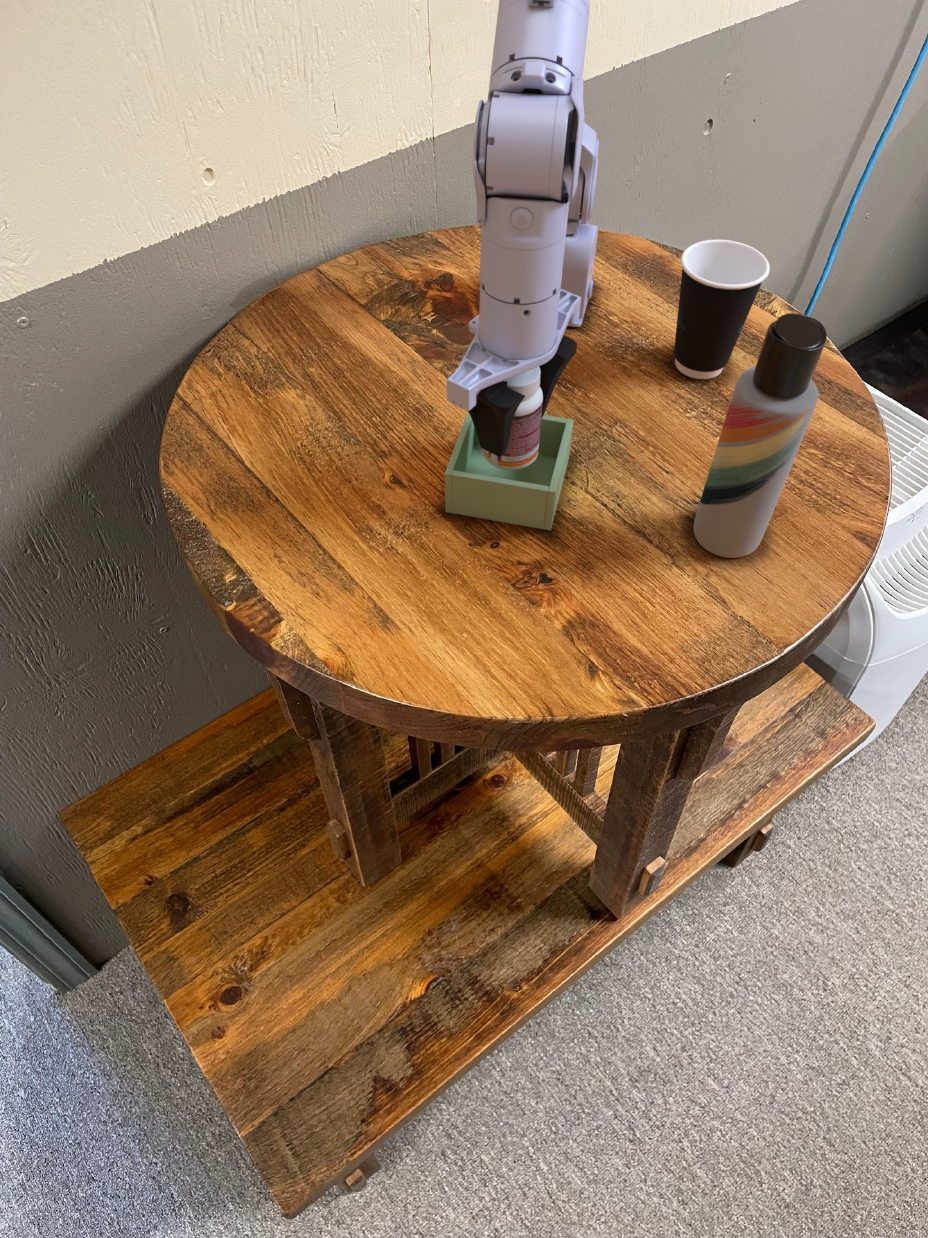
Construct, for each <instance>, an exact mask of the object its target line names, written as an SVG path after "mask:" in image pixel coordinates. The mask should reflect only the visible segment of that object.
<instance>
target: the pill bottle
mask: <svg viewBox="0 0 928 1238" xmlns="http://www.w3.org/2000/svg"><path fill="white" fill-rule="evenodd" d="M505 381H507V382H508V383H507V387H508V388H510V389H512V390H514V391H516V392H518V393H520V394H523V395H525V397H524V399H523V400H522V402H521V403H520V405H519V407H518V408H517V410H516V413H515V415H514V418H513V421H512V425H511V430H510V436H509V442H508V446H507V449H506V451H505V453H504V454H503V455H502V456H501V457H498V456H496V455H494V454H492V453H490V452H488V451H486V450H484V449H483V455H484V457H485V459H486V460H487V461H488V462H489V463H490V464H491V465H493V466H495V467H497V468H499V469H503V470H518V469H522V468H525V467H527V466H529V465H530V464H532V463H533V462H534V461H535V459H536V458H537V455H538V449H539V437H540V425H541V414H542V406H543V405H542V403H543V393H542V390H541V387H540V368H539V366H538V367H536V368H533V369H531V370H528V371H526V372H523V373H521V374H518V375H516V376H513V377H511V378H508V379H506V380H504V382H505Z"/></svg>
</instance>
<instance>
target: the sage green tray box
mask: <svg viewBox="0 0 928 1238" xmlns="http://www.w3.org/2000/svg"><path fill="white" fill-rule="evenodd" d="M574 422H575V421H574V419H571V418H563V417H559V416H552V415H545V414H544V415H543V417H542V419H541V425H540V437H539V449H538V455H537V458H536V459H535V461H534V462H533V463H532V464H530V465H529V466H527V467H525V468H522V469H518V470H503V469H499V468H497V467H495V466H493V465H491V464H490V463H489V462H488V461H487V460H486V459H485V457H484V455H483V449H482V448H481V446H480V443H479V440H478V436H477V433H476V430H475V427H474V424H473V421H472V419H471V416H470V414H469V412H468V411H467V412H466V414H465V417H464V420H463V422H462V426H461V428H460V430H459V433H458V436H457V439H456V441H455V444H454V447H453V450H452V452H451V455H450V458H449V459H448V460H449V461H448V463H447V466H446V468H445V472H444V507H445V508H444V509H445V511H444V512H445V513H449V514H454V515H459V516H460V515H461V516H466V517H470V518H477V519H483V520H488V521H495V522H498V523H499V522H500V523H506V524H510V525H511V524H512V525H516V526H522V527H528V528H534V529H540V530H544V531H545V530H546V531H552V527H553V525H554V519H555V515H556V511H557V508H558V504H559V501H560V497H561V492H562V489H563V484H564V479H565V475H566V473H567V467H568V464H569V459H570V453H571V445H572V436H573V428H574Z"/></svg>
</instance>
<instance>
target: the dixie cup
mask: <svg viewBox="0 0 928 1238" xmlns="http://www.w3.org/2000/svg"><path fill="white" fill-rule="evenodd" d="M680 265H681V278H680V289H679V298H678V309H677V315H676V316H677V317H676V328H675V338H674V346H673V357H674V365H675V367H676V369H677V370H678V371H679V372H680V373H681V374H683V375H685V376H686V377H689V378H693V379H698V380H707V379H708V380H709V379H714V378H716V377H717V376H719V375H720V374H721V373H722V371H723V370H724V368H725V367H726V366H727V365H728V363H729V361H730V358H731V356H732V355H733V352H734V349H735V347H736V344H737V342H738V340H739V337H740V335H741V333H742V330H743V328H744V326H745V323H746V321H747V319H748V316H749V314H750V312H751V310H752V307H753V304H754V302H755V300H756V297H757V295H758V292H759V291H760V288H761V286H762V283H763V282H764V281H765V280H766V279H767V278H768V276H769V274H770V268H771V267H770V262H769V261H768V259H767V258H766V256H765V255H764V254H763V253H762V252H761V251H759V250H758V249H756V248H755V247H752V246H750V245H748V244H746V243H743V242H739V241H735V240H730V239H706V240H702V241H701V240H700V241H698V242H695V243H693V244H691V245H689V246H687V248H685V250H683V252H682V253H681V255H680Z"/></svg>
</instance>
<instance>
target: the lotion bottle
mask: <svg viewBox="0 0 928 1238" xmlns="http://www.w3.org/2000/svg"><path fill="white" fill-rule="evenodd" d="M826 330H827V329H826V328H825V326H824V325H823V324H822V322H820V321H819V320H818V319H816V318H814V317H811V316H807V315H803V314H800V313H795V312H794V313H784V314H781V315H780V316H779V317H778V318H777V319H776V320H774V321H773V322H772V323H770V324H769V326H768V327H767V330H766V333H765V335H764V339H763V342H762V344H761V348H760V351H759V354H758V358H757V362H756V364H755V365H753V366H750V367H749V368H746V369H745V370H744V371H743V372H741V373H740V375H739V377H738V378H737V380H736V383H735V386H734V389H733V392H732V395H731V399H730V401H729V405H728V408H727V412H726V415H725V418H724V422H723V425H722V427H721V431H720V435H719V438H718V441H717V444H716V448H715V450H714V455H713V458H712V461H711V464H710V467H709V471H708V474H707V477H706V480H705V483H704V486H703V489H702V494H701V496H700V500H699V504H698V506H697V510H696V514H695V517H694V522H693V535H694V537H695V539H696V541H697V543H698V544H699V545H700V546H701V547H702V548H703V549H705V550H706V551H707V552H709V553H711V554H713V555H715V556H719V557H722V558H729V559H737V558H743V557H746V556H748V555H750V554H752V553H753V552H755V551H756V550H757V548H758V547H759V546H760V544H761V542H762V540H763V539H764V536H765V534H766V531H767V529H768V526H769V524H770V521H771V519H772V517H773V513H774V511H775V508H776V507H777V504H778V501H779V499H780V496H781V494H782V491H783V490H784V486H785V484H786V482H787V480H788V477H789V474H790V472H791V469H792V467H793V464H794V462H795V459H796V457H797V454H798V452H799V449H800V448H801V444H802V442H803V441H804V437H805V434H806V432H807V429H808V427H809V425H810V422H811V419H812V417H813V414H814V411H815V409H816V408H817V407H816V406H817V403H818V401H819V390H818V387H817V385H816V383H815V381H813V379H812V378H813V376H814V373H815V370H816V368H817V366H818V363H819V360H820V358H821V356H822V352H823V351H824V347H825V345H826V342H827V339H828V338H827V337H828V335H827V331H826Z"/></svg>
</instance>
